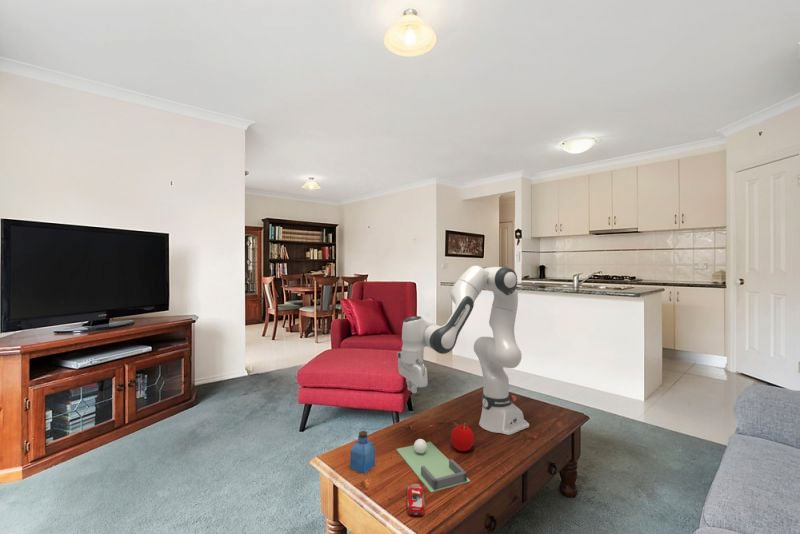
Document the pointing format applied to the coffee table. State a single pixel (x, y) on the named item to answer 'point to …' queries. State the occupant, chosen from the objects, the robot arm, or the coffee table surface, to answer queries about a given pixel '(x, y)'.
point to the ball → (420, 446)
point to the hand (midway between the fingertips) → (412, 391)
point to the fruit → (462, 438)
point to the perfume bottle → (362, 454)
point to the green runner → (428, 463)
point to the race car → (415, 499)
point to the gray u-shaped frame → (446, 480)
